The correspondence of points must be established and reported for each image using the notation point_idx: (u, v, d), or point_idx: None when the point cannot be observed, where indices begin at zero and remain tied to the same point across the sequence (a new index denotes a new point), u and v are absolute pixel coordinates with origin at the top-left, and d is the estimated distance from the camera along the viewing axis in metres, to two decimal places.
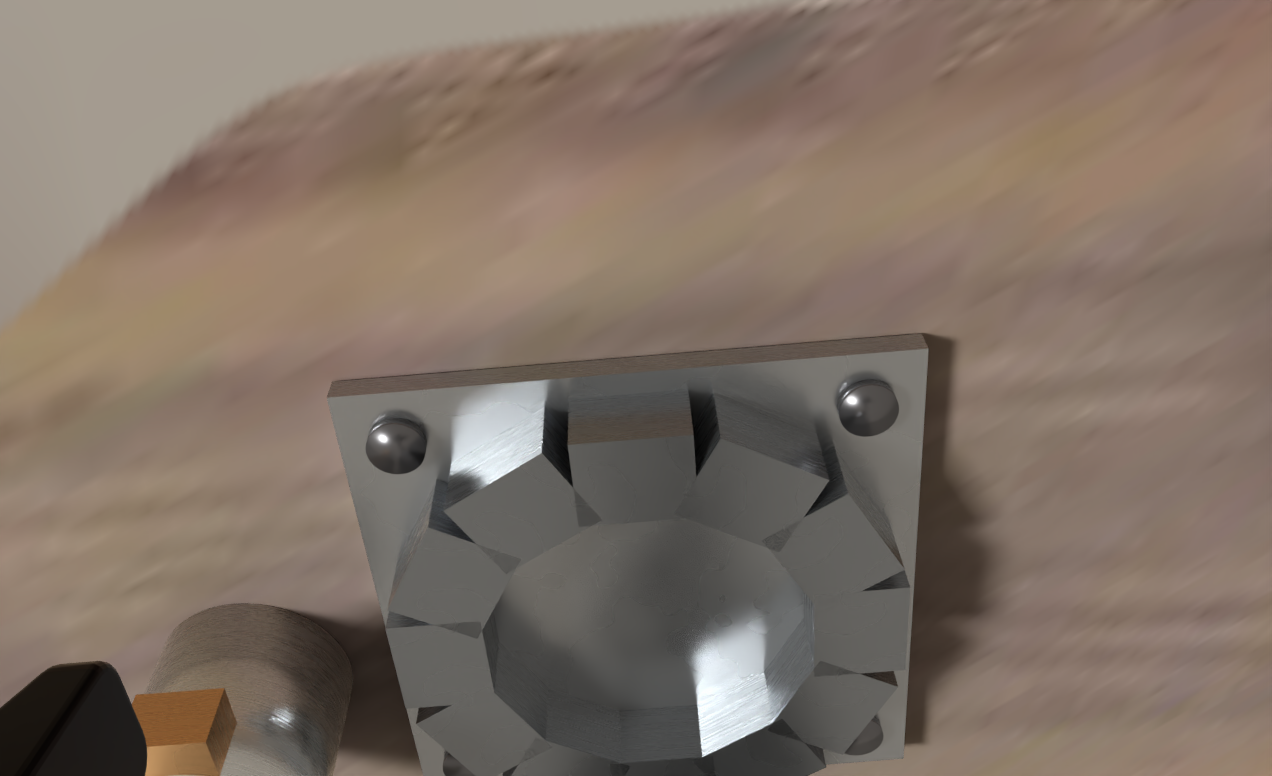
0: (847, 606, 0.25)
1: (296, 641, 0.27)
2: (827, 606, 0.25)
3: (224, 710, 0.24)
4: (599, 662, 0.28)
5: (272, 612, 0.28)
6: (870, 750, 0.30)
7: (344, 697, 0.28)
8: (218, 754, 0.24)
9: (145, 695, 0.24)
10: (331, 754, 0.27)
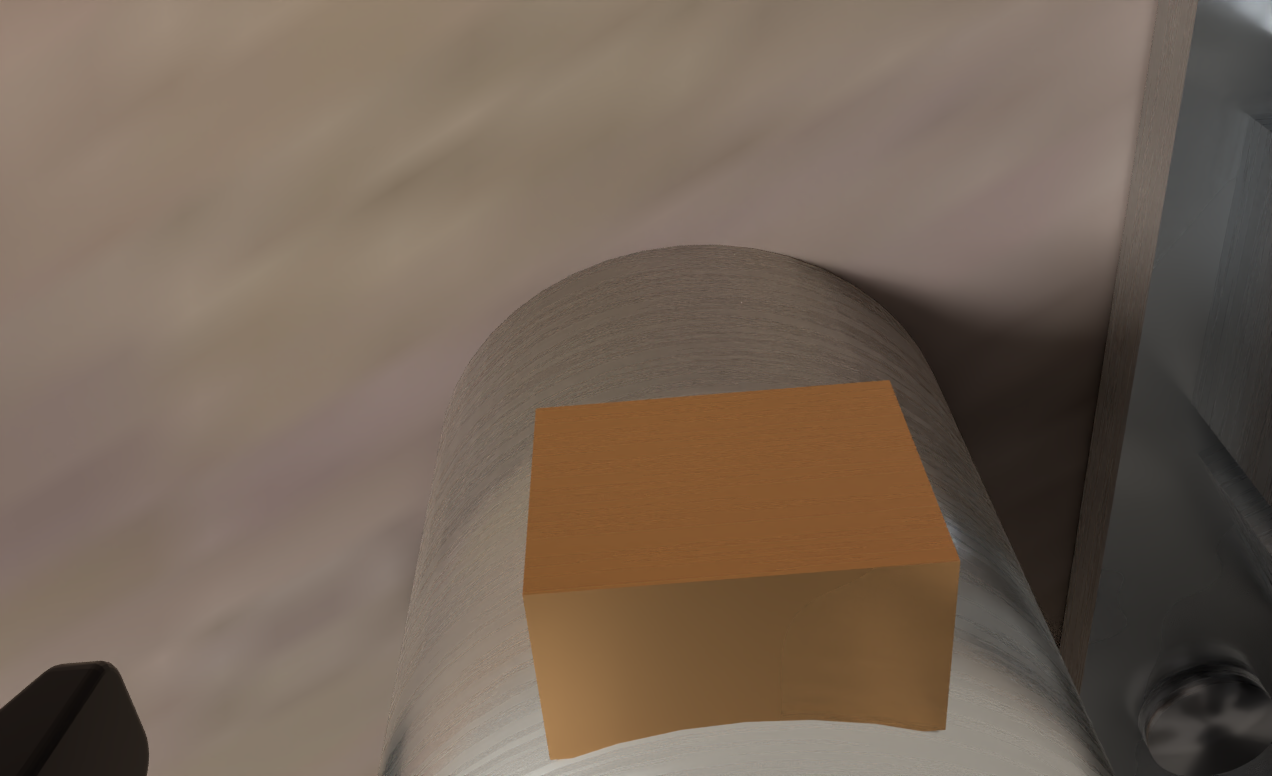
0: None
1: (884, 343, 0.09)
2: None
3: None
4: None
5: (795, 266, 0.10)
6: None
7: None
8: (933, 630, 0.06)
9: (575, 409, 0.06)
10: None
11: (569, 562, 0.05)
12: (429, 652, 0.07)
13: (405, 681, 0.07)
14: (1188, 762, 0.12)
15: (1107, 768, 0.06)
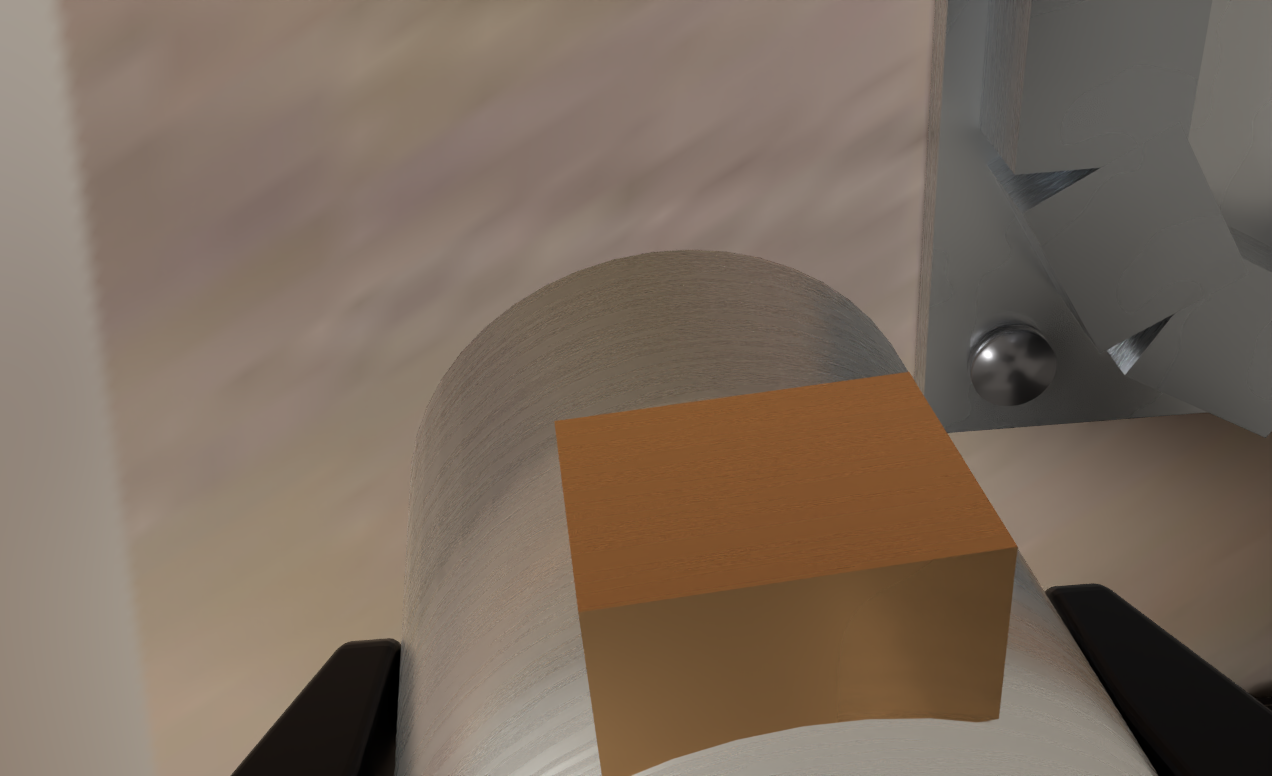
0: None
1: (863, 339, 0.09)
2: None
3: None
4: None
5: (767, 268, 0.09)
6: None
7: None
8: (982, 619, 0.05)
9: (596, 419, 0.06)
10: None
11: (621, 575, 0.05)
12: (443, 680, 0.07)
13: (417, 713, 0.07)
14: (999, 394, 0.18)
15: (1139, 745, 0.06)
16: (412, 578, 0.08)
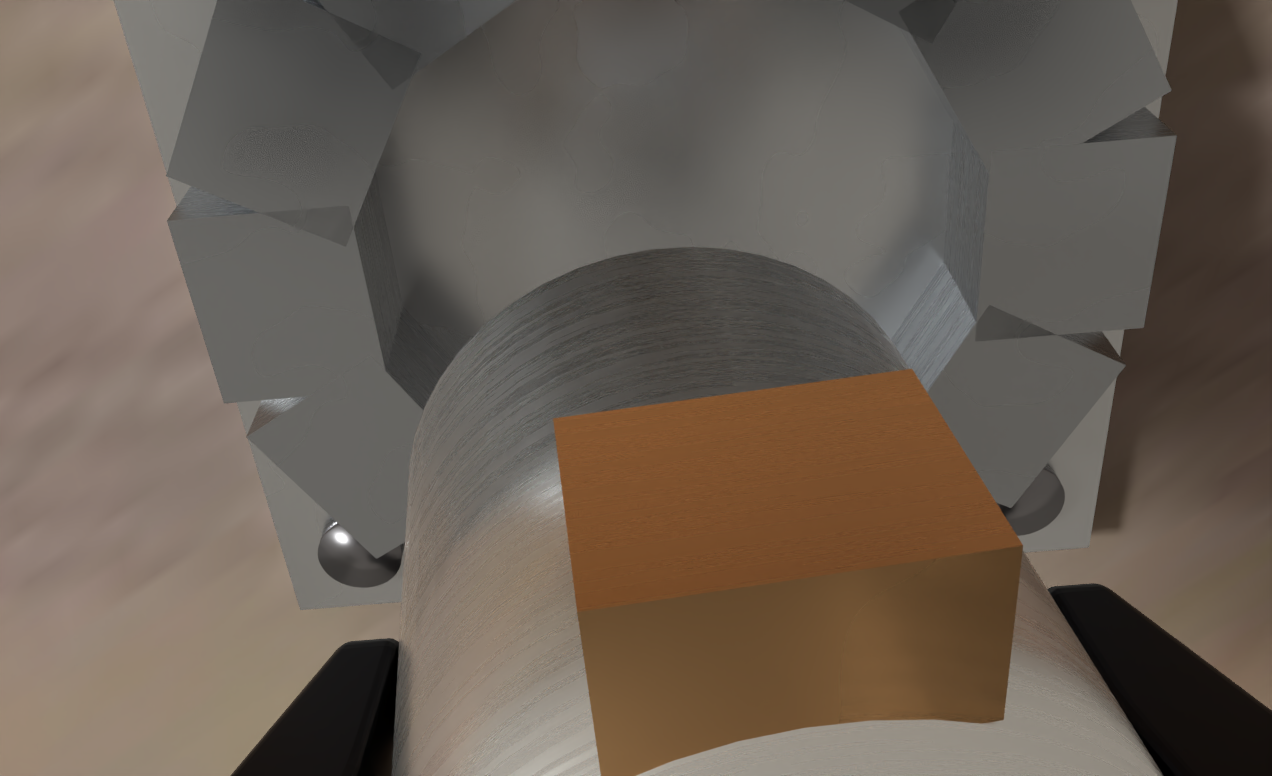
0: (1052, 178, 0.13)
1: (865, 337, 0.09)
2: (1013, 180, 0.13)
3: None
4: None
5: (768, 266, 0.09)
6: (1040, 526, 0.18)
7: None
8: None
9: (595, 416, 0.06)
10: None
11: (621, 575, 0.05)
12: (439, 680, 0.07)
13: (414, 714, 0.07)
14: (352, 577, 0.18)
15: (1144, 747, 0.06)
16: (410, 578, 0.08)
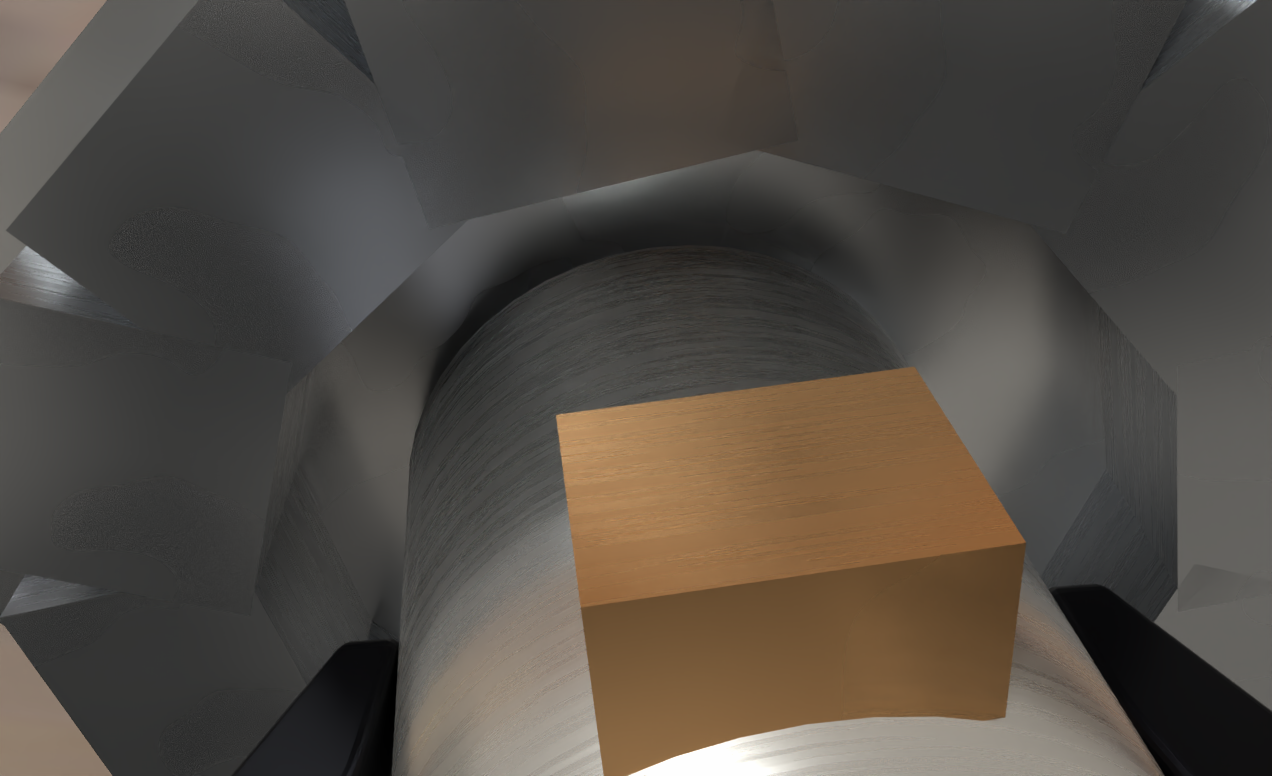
0: None
1: (866, 336, 0.09)
2: None
3: None
4: None
5: (771, 264, 0.09)
6: None
7: None
8: None
9: (598, 413, 0.06)
10: None
11: (623, 570, 0.05)
12: (441, 678, 0.07)
13: (415, 710, 0.07)
14: None
15: (1145, 745, 0.06)
16: (410, 574, 0.08)
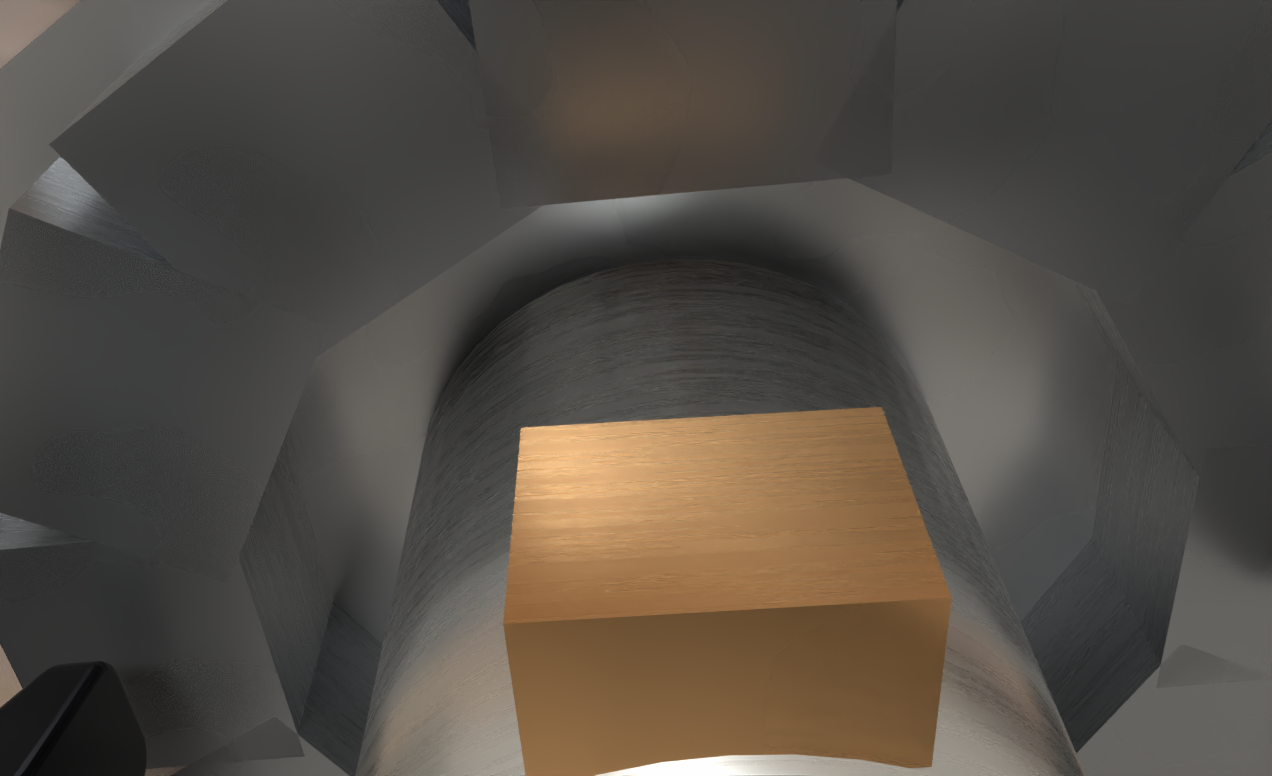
0: None
1: (875, 362, 0.09)
2: None
3: None
4: None
5: (788, 283, 0.09)
6: None
7: None
8: (923, 664, 0.05)
9: (562, 428, 0.06)
10: None
11: (553, 591, 0.05)
12: (406, 671, 0.07)
13: (381, 699, 0.07)
14: None
15: None
16: (402, 564, 0.09)
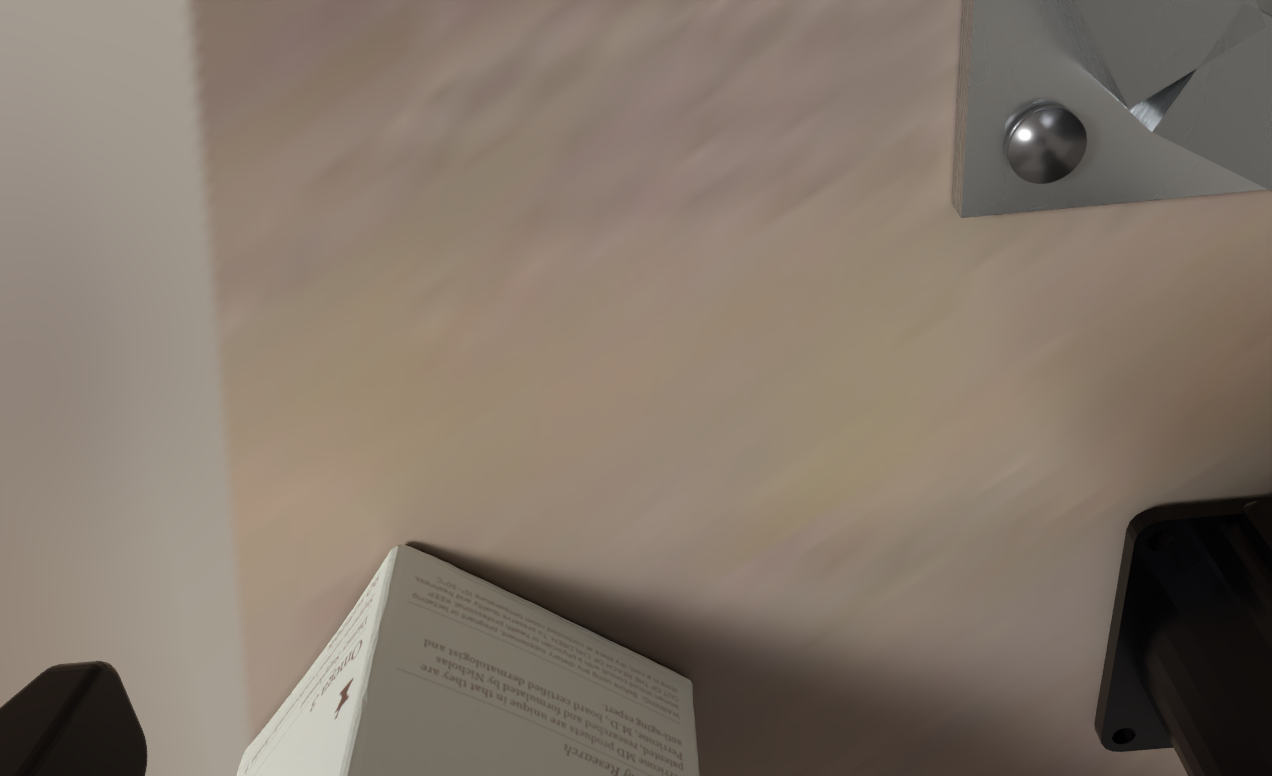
0: None
1: None
2: None
3: None
4: None
5: None
6: None
7: None
8: None
9: None
10: None
11: None
12: None
13: None
14: (1034, 171, 0.19)
15: None
16: None
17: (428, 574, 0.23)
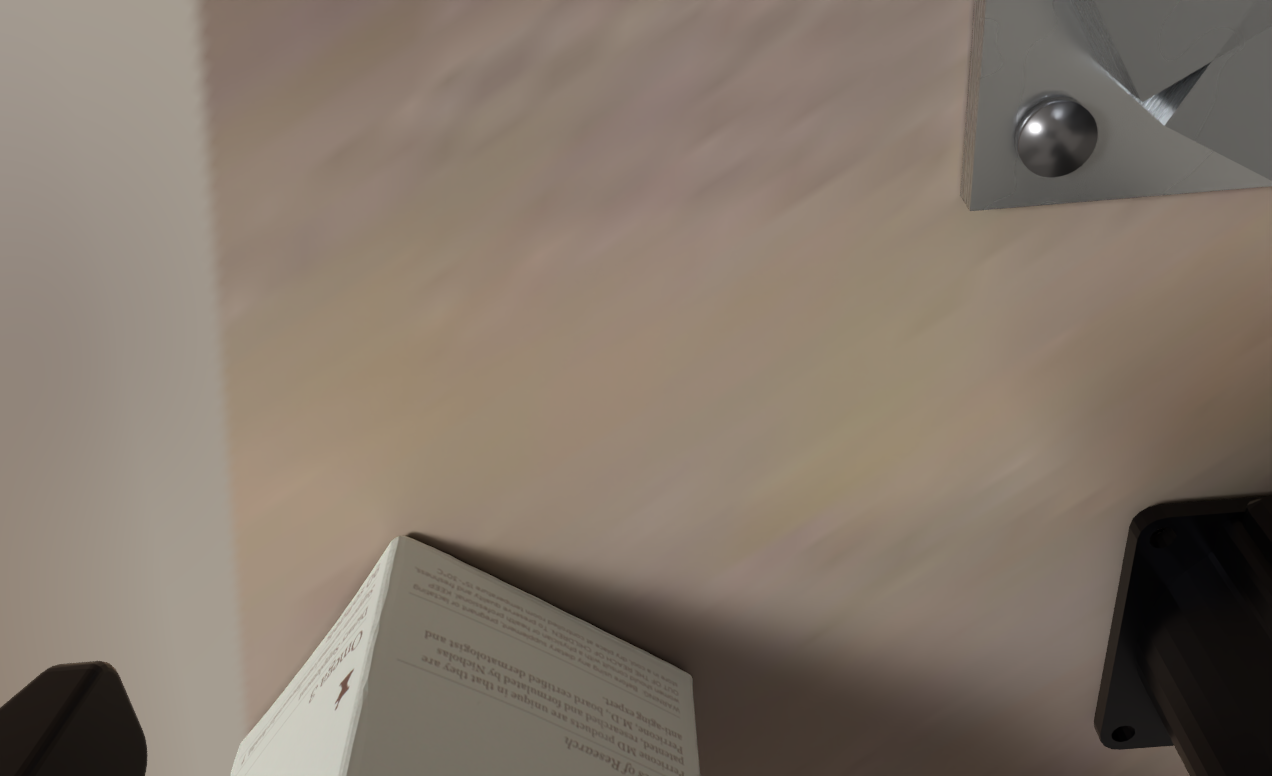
0: None
1: None
2: None
3: None
4: None
5: None
6: None
7: None
8: None
9: None
10: None
11: None
12: None
13: None
14: (1044, 164, 0.19)
15: None
16: None
17: (429, 565, 0.23)
